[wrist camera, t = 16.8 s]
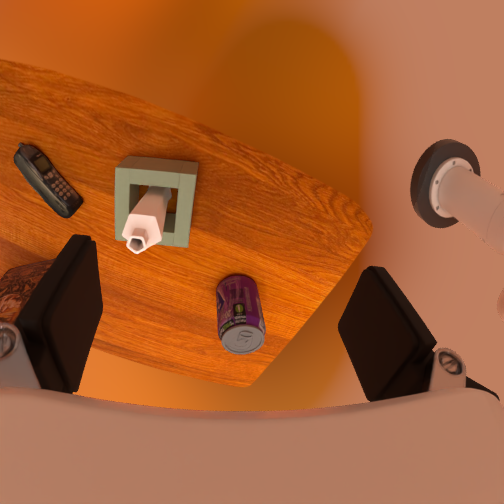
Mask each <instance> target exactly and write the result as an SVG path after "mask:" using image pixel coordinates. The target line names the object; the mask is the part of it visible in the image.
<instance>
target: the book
mask: <svg viewBox="0 0 504 504" xmlns="http://www.w3.org/2000/svg"><path fill="white" fill-rule="evenodd" d="M54 261H55V259H52V260H47V261H43V262H38V263H34V264H29V265H25V266H20V267H16V268H13V269H10V270H8V271H7V272H6V273H5V274H4V276H3V277H2V278H1V280H0V322H7V323H10V324H13V325H14V323H15V321H16V319H17V318H18V316H19V314H20V312H21V311H22V309H23V307H24V306H25V304H26V302H27V300H28V299H29V297H30V296H31V294H32V292H33V291H34V289H35V287H36V286H37V284H38V283H39V281H40V280H41V278H42V277H43V275H44V274H45V273H46V271H48V270H49V268H50V267H51V265H52V264H53V262H54Z"/></svg>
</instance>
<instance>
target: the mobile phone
mask: <svg viewBox="0 0 504 504" xmlns="http://www.w3.org/2000/svg"><path fill="white" fill-rule="evenodd" d="M18 146H19V147H20V148H19V149H18V150H17V152H16V153H15V155H14V163H15V164H16V166H17V167H18V169H19V170H20V171H21V173H22V174H23V176H24V178H25V179H26V181H27V182H28V183H29V184H30V185H31V186H32V187H33V189H34V190H35V191H36V192H37V193H38V194H39V195H40V196H41V197H42V198H43V200H44V201H45V202H46V203H47V204H48V205H49V206H50V207H51V208H52V209H53V210H54V211H55V212H56V213H57V214H58V215H59V216H61V217H63V218H70V217H71V216H72V215H73V214H74V213H75V212H76V211H77V209H78V208H79V207H80V206H81V205H82V203H83V200H82V198H81V197H80V196H79V195H78V194H77V193H76V192H75V191H74V190H73V189H72V188H71V187H70V185H69V184H68V183H67V182H66V181H65V180H64V179H63V178H62V177H61V176H60V175H59V173H58V172H57V171H56V170H55V168H54V167H53V166H52V164H51V163H50V161H49V160H48V158H47V157H46V156H44V155H43V154H42V153H41V152H40V151H39V150H37V149H36V148H34V147H33V146H30V145H25V146H24V145H23V144H22V143H19V145H18Z"/></svg>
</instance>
